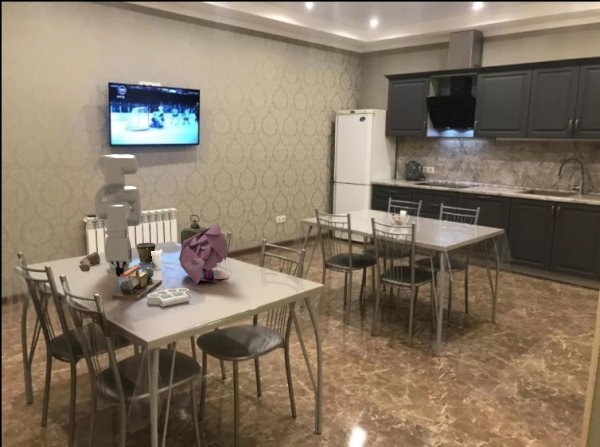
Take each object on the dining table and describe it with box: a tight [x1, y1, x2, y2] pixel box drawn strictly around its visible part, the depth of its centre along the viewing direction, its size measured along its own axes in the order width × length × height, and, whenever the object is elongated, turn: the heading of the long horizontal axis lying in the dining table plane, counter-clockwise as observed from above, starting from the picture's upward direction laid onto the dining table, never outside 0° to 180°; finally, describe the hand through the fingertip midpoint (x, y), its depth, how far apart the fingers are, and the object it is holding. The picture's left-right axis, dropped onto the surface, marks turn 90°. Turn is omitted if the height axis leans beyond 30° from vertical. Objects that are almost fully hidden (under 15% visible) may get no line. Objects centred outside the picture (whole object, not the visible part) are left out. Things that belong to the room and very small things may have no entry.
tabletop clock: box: [180, 214, 208, 248], centre depth 274 cm, size 14×9×25 cm, turn 58°
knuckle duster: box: [146, 287, 191, 308], centre depth 208 cm, size 3×18×15 cm
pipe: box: [79, 251, 101, 271], centre depth 258 cm, size 6×17×10 cm
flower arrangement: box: [178, 223, 230, 285], centre depth 240 cm, size 35×24×28 cm
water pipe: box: [119, 267, 155, 294], centre depth 219 cm, size 22×6×8 cm, turn 172°
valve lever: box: [119, 264, 141, 279], centre depth 212 cm, size 3×15×1 cm, turn 174°
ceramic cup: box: [135, 242, 157, 265], centre depth 264 cm, size 13×10×10 cm
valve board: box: [111, 279, 163, 301], centre depth 220 cm, size 24×12×2 cm, turn 172°
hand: (120, 276), depth 209 cm, fingers closed
